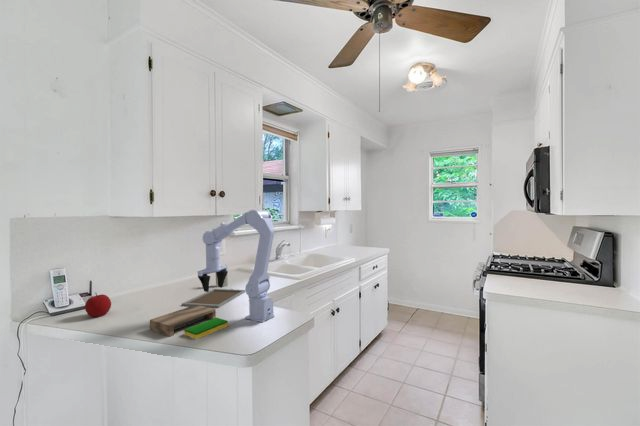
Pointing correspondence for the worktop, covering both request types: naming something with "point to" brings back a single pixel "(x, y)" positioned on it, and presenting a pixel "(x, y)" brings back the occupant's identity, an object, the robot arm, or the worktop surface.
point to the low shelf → (180, 319)
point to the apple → (98, 305)
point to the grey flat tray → (214, 298)
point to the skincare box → (224, 280)
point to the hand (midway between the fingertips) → (213, 289)
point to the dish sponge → (205, 328)
